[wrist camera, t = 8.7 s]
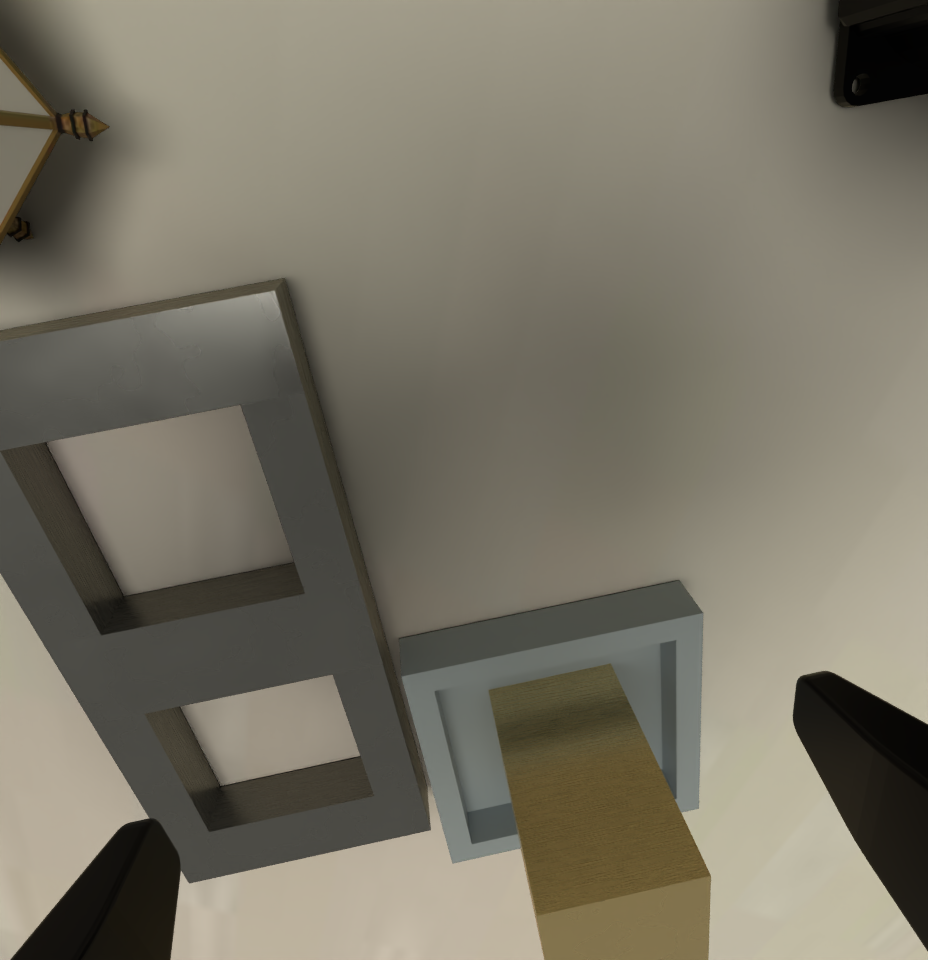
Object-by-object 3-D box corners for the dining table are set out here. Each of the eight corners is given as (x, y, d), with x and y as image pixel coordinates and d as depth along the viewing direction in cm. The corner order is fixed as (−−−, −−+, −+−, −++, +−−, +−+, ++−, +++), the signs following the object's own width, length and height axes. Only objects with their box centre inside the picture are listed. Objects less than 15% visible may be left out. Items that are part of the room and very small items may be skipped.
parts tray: (679, 580, 24) (703, 613, 23) (679, 769, 30) (698, 808, 28) (399, 638, 24) (401, 676, 22) (447, 820, 29) (452, 863, 27)
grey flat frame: (284, 278, 18) (275, 290, 16) (427, 787, 28) (430, 830, 26) (-76, 344, 17) (-127, 364, 16) (201, 836, 28) (189, 883, 26)
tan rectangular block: (610, 663, 25) (710, 876, 18) (616, 748, 28) (707, 968, 20) (488, 689, 25) (536, 916, 18) (504, 773, 27) (553, 1004, 20)
